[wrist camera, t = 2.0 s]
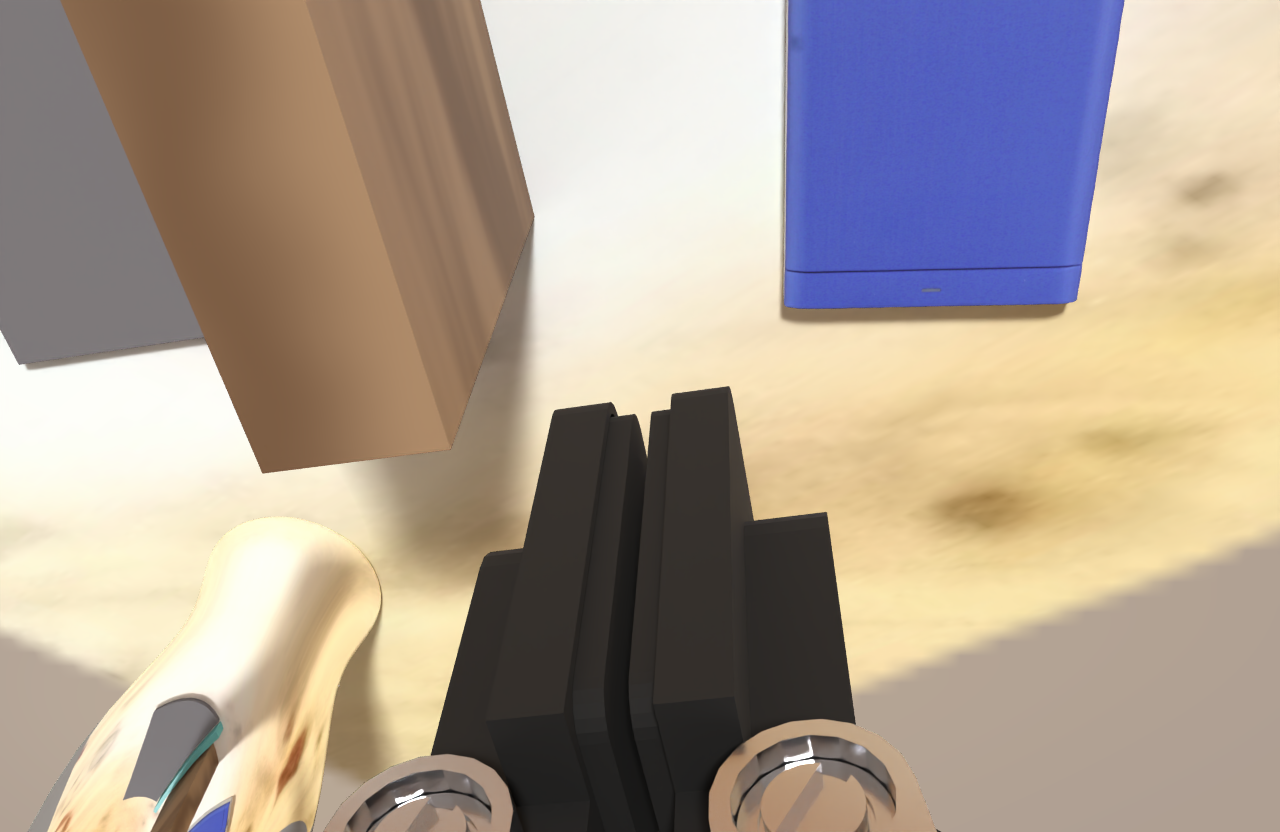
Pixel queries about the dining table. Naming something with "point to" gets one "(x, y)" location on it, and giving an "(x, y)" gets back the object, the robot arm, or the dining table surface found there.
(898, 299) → the hard drive
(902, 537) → the dining table surface
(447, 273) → the slab
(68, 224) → the mat
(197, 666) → the beer glass
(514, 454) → the dining table surface
